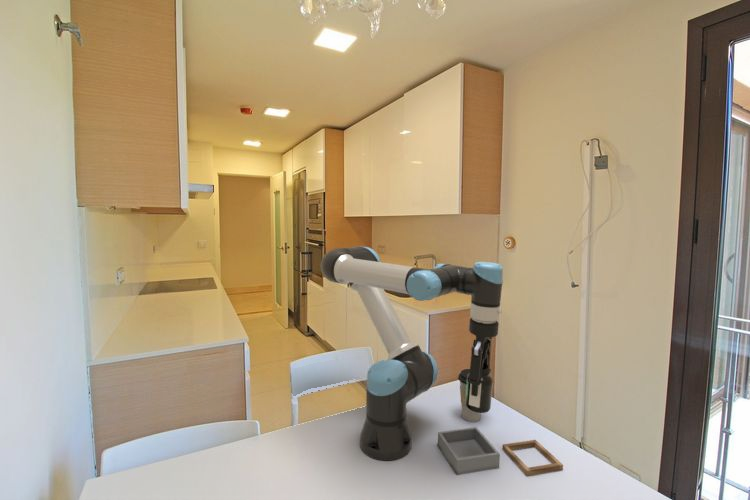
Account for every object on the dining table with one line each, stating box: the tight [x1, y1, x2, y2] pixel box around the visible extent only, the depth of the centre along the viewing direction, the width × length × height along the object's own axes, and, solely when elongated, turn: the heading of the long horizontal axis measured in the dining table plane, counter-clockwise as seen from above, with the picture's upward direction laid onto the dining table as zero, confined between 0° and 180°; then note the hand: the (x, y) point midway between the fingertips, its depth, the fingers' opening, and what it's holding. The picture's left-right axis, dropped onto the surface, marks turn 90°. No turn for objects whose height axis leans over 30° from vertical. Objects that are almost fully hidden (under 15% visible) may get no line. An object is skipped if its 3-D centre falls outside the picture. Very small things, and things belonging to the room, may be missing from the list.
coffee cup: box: [457, 368, 482, 422], centre depth 119 cm, size 9×9×15 cm
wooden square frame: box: [501, 439, 564, 477], centre depth 99 cm, size 11×11×2 cm
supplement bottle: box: [465, 363, 494, 414], centre depth 98 cm, size 7×7×12 cm
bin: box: [437, 426, 501, 476], centre depth 99 cm, size 12×12×4 cm
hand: (477, 399), depth 99 cm, fingers closed on supplement bottle, 7 cm apart
